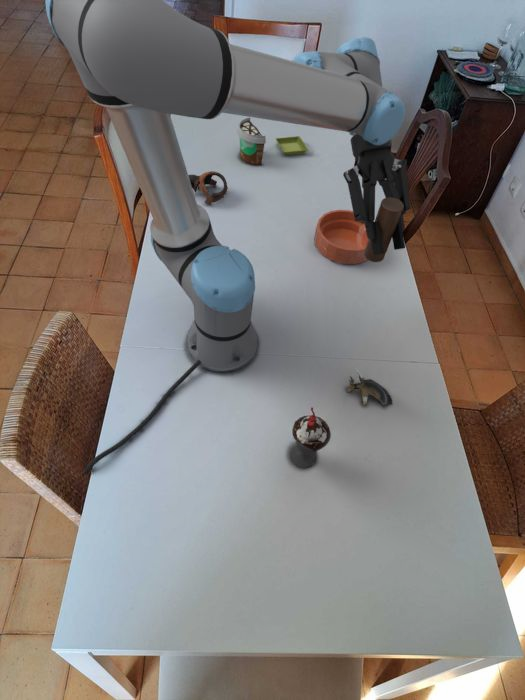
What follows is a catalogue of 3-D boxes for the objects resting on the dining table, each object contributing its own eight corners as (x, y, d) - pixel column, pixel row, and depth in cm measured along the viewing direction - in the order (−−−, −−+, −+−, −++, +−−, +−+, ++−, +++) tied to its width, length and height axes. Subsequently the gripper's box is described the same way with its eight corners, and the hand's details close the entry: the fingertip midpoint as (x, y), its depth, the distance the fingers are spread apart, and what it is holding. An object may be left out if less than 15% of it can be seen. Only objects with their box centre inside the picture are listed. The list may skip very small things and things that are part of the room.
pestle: (382, 264, 97) (402, 213, 86) (362, 259, 97) (379, 208, 87) (385, 251, 99) (405, 200, 89) (365, 246, 100) (382, 195, 89)
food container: (230, 150, 148) (231, 119, 140) (247, 147, 149) (249, 116, 141) (245, 170, 141) (247, 139, 133) (263, 167, 143) (266, 136, 135)
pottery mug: (225, 185, 136) (231, 172, 129) (220, 214, 135) (227, 202, 127) (185, 174, 133) (190, 159, 125) (180, 204, 131) (184, 190, 124)
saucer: (274, 143, 152) (275, 137, 150) (298, 141, 154) (299, 135, 152) (282, 158, 147) (283, 152, 146) (307, 155, 149) (308, 149, 148)
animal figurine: (345, 409, 92) (391, 416, 90) (348, 376, 90) (395, 382, 88) (347, 394, 99) (390, 400, 97) (351, 363, 97) (394, 369, 95)
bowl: (368, 272, 118) (374, 256, 114) (307, 257, 120) (311, 240, 116) (376, 234, 128) (382, 218, 124) (320, 220, 130) (324, 204, 125)
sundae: (298, 432, 89) (311, 393, 77) (326, 454, 87) (344, 417, 75) (278, 456, 86) (288, 419, 74) (306, 479, 84) (321, 445, 72)
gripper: (394, 131, 94) (412, 244, 99) (320, 143, 89) (343, 262, 94) (418, 118, 87) (436, 240, 92) (339, 131, 82) (362, 259, 87)
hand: (389, 251), depth 93 cm, fingers closed on pestle, 4 cm apart
